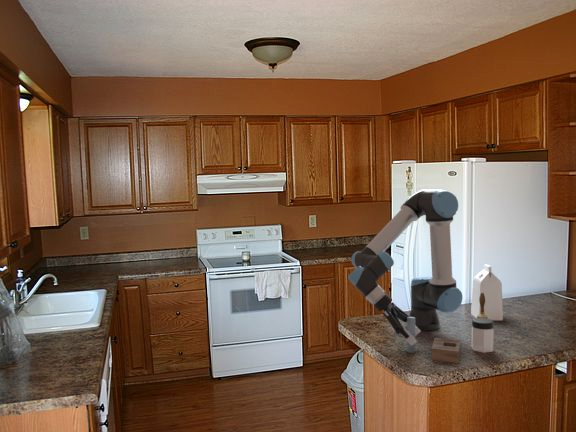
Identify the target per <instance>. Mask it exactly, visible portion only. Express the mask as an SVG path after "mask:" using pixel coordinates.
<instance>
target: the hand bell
mask: <svg viewBox="0 0 576 432" xmlns="http://www.w3.org/2000/svg"><path fill="white" fill-rule="evenodd" d="M479 302H480V306H481V308H480V310H481V311H480V314H479V315H477V318H486V319H488V318H487V315H485V314H484V305H485V296H484V293H481V295H480V298H479Z"/></svg>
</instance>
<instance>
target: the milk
mask: <svg viewBox="0 0 576 432" xmlns="http://www.w3.org/2000/svg"><path fill="white" fill-rule="evenodd" d="M492 271H493V270H492V266H491V265H490V264H488V263H487V264H486V263H485V264H483V268H482V270H481V271H479V272H478V273H477V274H476V275H475V276H474V277H473V279H472V290H471V291H472V292H471V293H472V294H471V307H470V308H471V309H470V314H471V315H472V317H474V318H477V315H479V314H480V311H481V310H480V308H481V306H480V302H479V298H480V295H481V293H484V296H485V305H484V314H485V315H487V318H488V319H490V320H492V321H504V313H503V312H504V311H503V285H502V284H503V283H502V282H501V280H500V279H499V278H498V277H497V276H496V275H495V274H494V273H493V272H492Z"/></svg>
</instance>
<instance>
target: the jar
mask: <svg viewBox="0 0 576 432" xmlns="http://www.w3.org/2000/svg"><path fill="white" fill-rule="evenodd" d="M470 344H471V350H472V351H474V352H479V353H493V352H494V320H490V319H486V318H475V317H474V318H472V320H471V343H470Z"/></svg>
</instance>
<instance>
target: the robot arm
mask: <svg viewBox="0 0 576 432" xmlns="http://www.w3.org/2000/svg"><path fill="white" fill-rule="evenodd" d="M458 210H459V201H458V198H457V196H456V195H455V194H454V193H453V192H451V191H450V190H445V189H428V188H426V189H420V190H418V191H417V192H415V193H414V194H412V195H411V196H409V198H408V199H407V200H406V201H404V203H403V204H401V206H400V210H399V211H398V212H397V213H396V214H395V215H394V216H393V217H392V219H391V220H390V221H388V222H387V224H386V225H385V226H384V227H383V228H382V229H381V230H380V231H379V232H378V233H377V234H376V235H375V236H374V237H373V239H372V240H371V241H370V242H369V243H368V244H367V245H366V246H365V247H364V248H363V249H362V250H360V251H355V252H354V253H353V254H352V255H351V260H350V261H351V264H352V266H353V267H355V269H354V270H353V271H352V272H351V273H350V274H348V280H349V281H350V283H351V284H352V285H353V286H354V287H355V288H356V289H357V290H358V291H359V292H360V293H361V294H362V295H363V296H364V297H365V299H366V301H367V302H369V303H370V304H371V305H373V307H374V308H375V309H376V310H377V311H378V312H382V311H383V313H382V316H384V317H385V318H386V319H387V321H388V323H389V325H390V326H391V327H392V328H393V330H394V331H395V333H396V334H397V335H399V334H400V336H402V337H403V338H404V339H405V340H406V342H407V341H408V342H409V344H410V345H411V346H412V345H413V344H415V345H416V343H417V341H418V340H417V339H416V337H415V338H414V337H413V336H412V335H411V334H410V333H409V332H408V331H407V328H404V327H403V325H402V323H401V322H403V323H404V325H405V326H406V327H407V317H415V336H418V335H419V333H421V332H422V331H434V330H438V329H440V328H441V321H440V318H439V314H438V311H440V312H441V313H447V314H449V313H450V314H451V313H453V312H456V311H457V310H458V309H459V307H460V306H461V304H462V302H463V292H462V291H461V290H460V288H458V287H457V279H455V278H454V277H453V263H452V260H453V259H452V244H451V243H452V242H451V241H452V240H451V239H452V238H451V223H452V222H453V221H454V216H455V215H457V212H458ZM423 216H425V222H426V223H427V224H428V225H429V237H430V239H429V240H430V255H431V256H430V257H431V260H430V261H431V275H432V276H419V277H414V278H412V279H411V282H410V310H409V314H407V313H406V312H405V311H403V309H401V308H399V306H397V305H396V303H394V302H393V299H392V297H391V295H389V294H388V293H386V291H385V289H383V288H382V287H381V286H380V285H379V284H378V283H377V281H379V279H380V278H381V277H383V276H384V275H385V274H386V273H387V272H388V271H390V270H391V268H392V267H393V266H394V264H395V263H394V262H395V261H394V259H393V257H392V256H391V255H390V254H389V253H388V252H386V251H387V249H389V247H390V246H391V245H393V243H394V242H395V241H396V240H397V239H398V238H399V237H400V236H401V235H402V234H403V232H404V231H405V230H406V229H407V228H408V227H410V226H411V224H412V223H413V222H417V221H418V220H419V219H420V218H421V217H423ZM437 310H438V311H437Z"/></svg>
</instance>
